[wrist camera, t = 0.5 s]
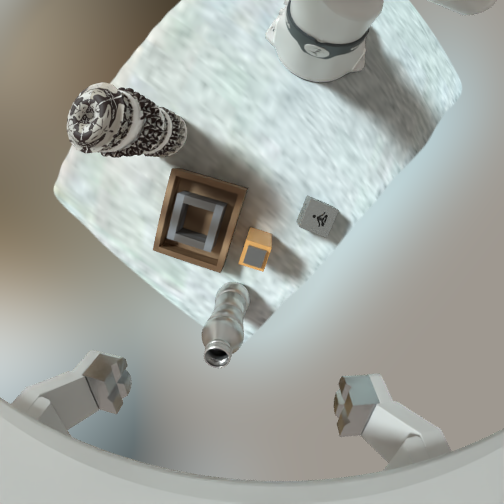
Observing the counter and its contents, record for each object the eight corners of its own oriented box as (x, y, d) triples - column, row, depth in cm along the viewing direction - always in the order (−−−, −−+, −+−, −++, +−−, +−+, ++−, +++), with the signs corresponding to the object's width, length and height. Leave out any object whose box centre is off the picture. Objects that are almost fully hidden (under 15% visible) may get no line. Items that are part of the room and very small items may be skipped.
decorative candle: (149, 108, 45) (66, 76, 21) (195, 114, 45) (131, 74, 21) (138, 154, 47) (48, 153, 24) (182, 162, 48) (109, 163, 24)
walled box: (179, 168, 48) (169, 168, 43) (247, 188, 48) (245, 190, 43) (160, 244, 52) (150, 252, 47) (223, 265, 53) (219, 275, 48)
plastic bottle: (257, 288, 54) (250, 352, 35) (240, 314, 56) (226, 382, 37) (227, 272, 53) (206, 329, 34) (211, 299, 55) (185, 362, 36)
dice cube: (321, 231, 50) (326, 238, 45) (296, 221, 50) (299, 226, 45) (332, 205, 49) (338, 210, 44) (307, 195, 48) (311, 198, 44)
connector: (250, 226, 50) (245, 240, 41) (271, 233, 51) (271, 249, 41) (243, 247, 52) (238, 265, 43) (264, 253, 52) (263, 273, 43)
